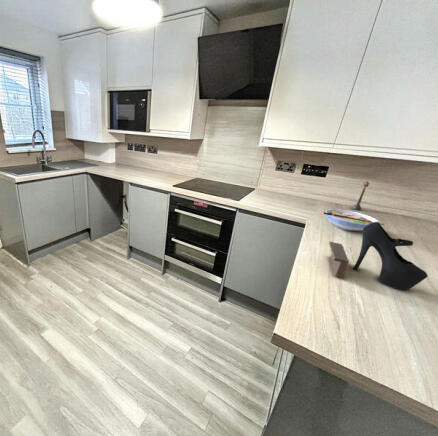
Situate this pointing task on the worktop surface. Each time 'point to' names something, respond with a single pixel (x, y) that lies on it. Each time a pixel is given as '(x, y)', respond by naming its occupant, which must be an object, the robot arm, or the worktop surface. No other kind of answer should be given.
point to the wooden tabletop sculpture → (357, 206)
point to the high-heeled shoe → (390, 258)
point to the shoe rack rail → (338, 259)
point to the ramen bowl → (349, 219)
